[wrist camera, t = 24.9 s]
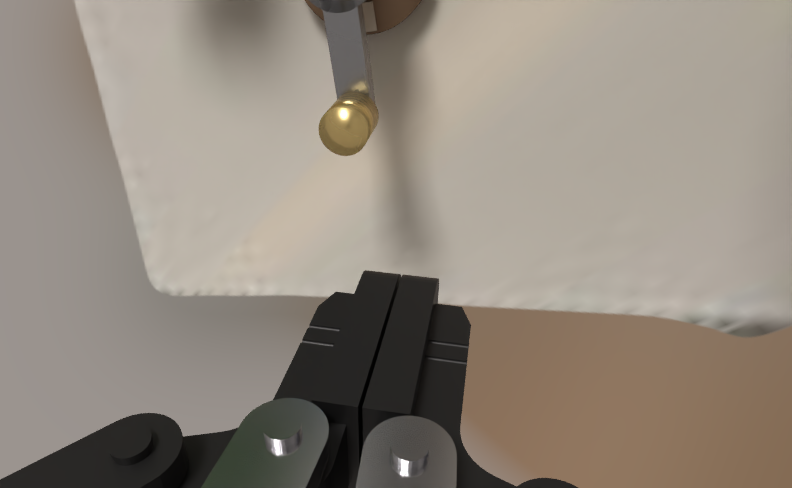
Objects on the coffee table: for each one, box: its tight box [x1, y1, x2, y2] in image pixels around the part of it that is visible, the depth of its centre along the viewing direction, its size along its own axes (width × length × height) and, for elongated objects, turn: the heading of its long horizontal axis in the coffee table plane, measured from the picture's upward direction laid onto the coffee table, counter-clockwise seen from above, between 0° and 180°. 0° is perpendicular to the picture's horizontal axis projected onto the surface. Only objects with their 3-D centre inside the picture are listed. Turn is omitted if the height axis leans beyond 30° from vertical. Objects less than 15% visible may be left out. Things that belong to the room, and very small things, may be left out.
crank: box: [309, 0, 379, 156], centre depth 32 cm, size 12×4×4 cm, turn 6°
